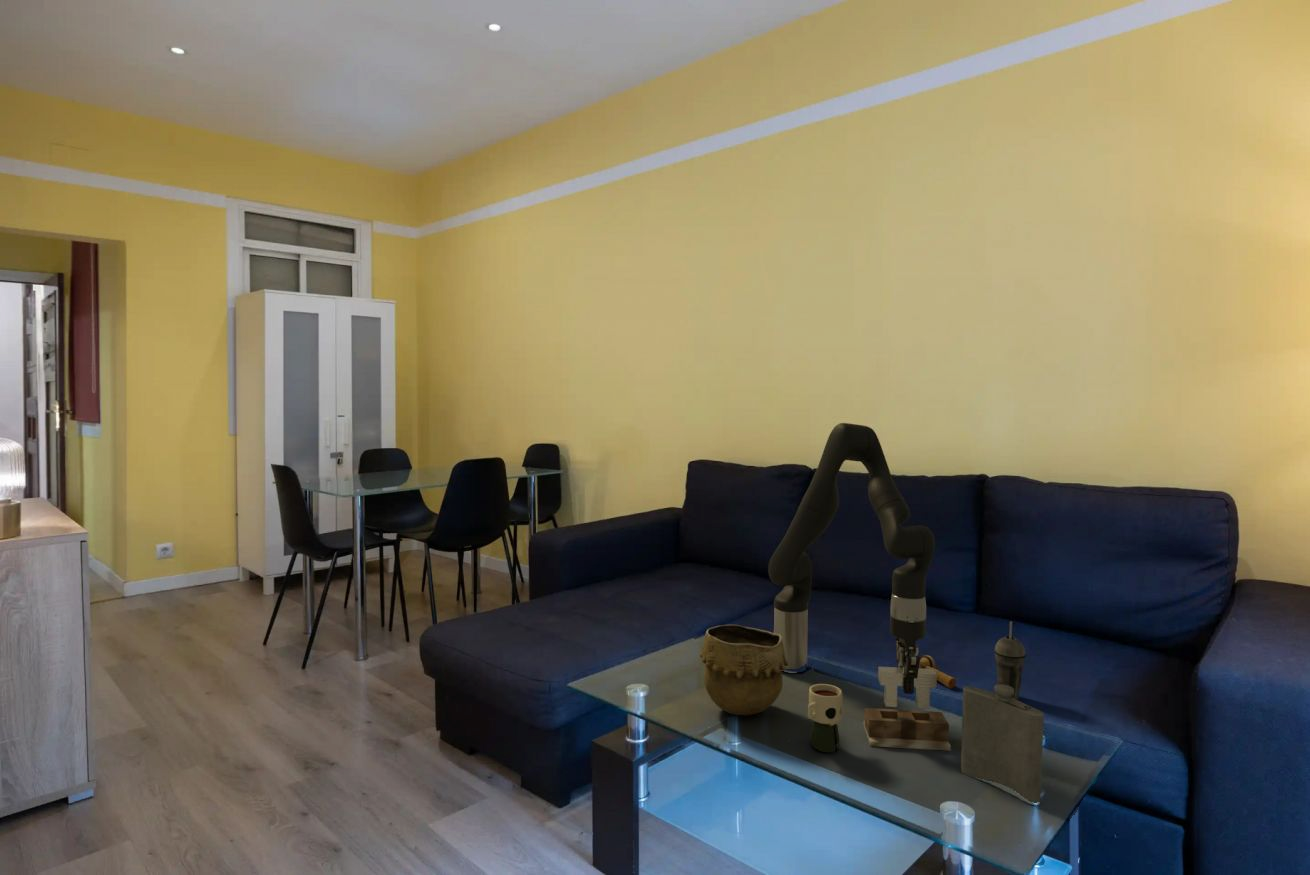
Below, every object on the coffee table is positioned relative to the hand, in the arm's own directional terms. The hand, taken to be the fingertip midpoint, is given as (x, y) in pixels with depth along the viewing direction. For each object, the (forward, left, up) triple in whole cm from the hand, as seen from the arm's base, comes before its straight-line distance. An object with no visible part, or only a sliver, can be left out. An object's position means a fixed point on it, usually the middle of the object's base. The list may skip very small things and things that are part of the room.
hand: (906, 689), depth 163 cm
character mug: (-19, -7, -11) cm, 23 cm away
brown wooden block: (0, 0, -11) cm, 11 cm away
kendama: (+13, +36, -12) cm, 40 cm away
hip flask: (+14, -18, -11) cm, 26 cm away
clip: (0, 0, -4) cm, 4 cm away
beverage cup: (+30, +25, -11) cm, 41 cm away
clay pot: (-37, +9, -11) cm, 39 cm away
